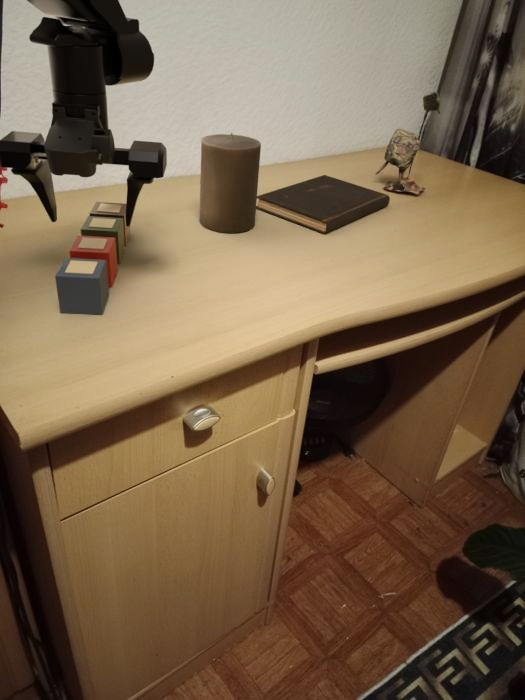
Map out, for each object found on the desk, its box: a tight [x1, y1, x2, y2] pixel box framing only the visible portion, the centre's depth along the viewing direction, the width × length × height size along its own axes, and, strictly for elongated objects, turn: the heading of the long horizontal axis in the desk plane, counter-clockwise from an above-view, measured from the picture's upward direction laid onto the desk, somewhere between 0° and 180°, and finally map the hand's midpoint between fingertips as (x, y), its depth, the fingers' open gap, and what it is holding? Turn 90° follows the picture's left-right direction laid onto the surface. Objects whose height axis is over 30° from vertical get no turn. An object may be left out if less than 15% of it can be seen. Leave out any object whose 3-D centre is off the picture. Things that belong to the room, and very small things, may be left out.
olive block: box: [80, 215, 126, 265], centre depth 78 cm, size 5×5×5 cm
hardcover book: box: [256, 174, 391, 235], centre depth 105 cm, size 16×23×2 cm
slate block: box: [55, 257, 110, 316], centre depth 66 cm, size 5×5×5 cm
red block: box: [68, 235, 119, 288], centre depth 72 cm, size 5×5×5 cm
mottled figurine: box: [374, 91, 441, 195], centre depth 114 cm, size 8×11×20 cm
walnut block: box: [89, 201, 131, 248], centre depth 83 cm, size 5×5×5 cm
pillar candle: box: [199, 132, 262, 234], centre depth 90 cm, size 10×10×15 cm
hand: (91, 223), depth 69 cm, fingers open, 9 cm apart
